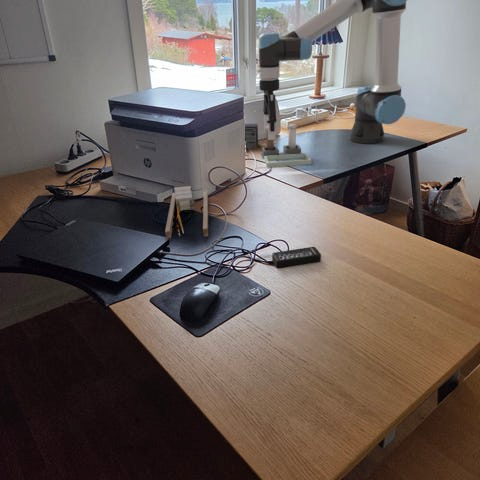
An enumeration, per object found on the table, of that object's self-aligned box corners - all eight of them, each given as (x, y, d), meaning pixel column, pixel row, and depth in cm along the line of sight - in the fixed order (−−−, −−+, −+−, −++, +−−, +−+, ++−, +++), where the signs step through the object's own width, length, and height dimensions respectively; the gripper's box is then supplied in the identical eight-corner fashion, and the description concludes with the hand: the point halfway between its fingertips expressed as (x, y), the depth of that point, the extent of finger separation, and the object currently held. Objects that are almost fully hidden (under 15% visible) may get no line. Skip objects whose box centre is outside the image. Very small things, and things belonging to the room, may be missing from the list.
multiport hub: (271, 260, 103) (271, 252, 102) (314, 254, 105) (314, 246, 104) (277, 270, 99) (277, 261, 98) (321, 263, 101) (321, 254, 100)
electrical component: (200, 243, 119) (199, 229, 115) (179, 246, 118) (177, 231, 115) (192, 197, 137) (191, 183, 134) (173, 199, 136) (172, 185, 133)
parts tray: (306, 159, 170) (306, 153, 169) (311, 166, 162) (311, 160, 161) (264, 162, 170) (264, 155, 168) (267, 169, 162) (266, 163, 160)
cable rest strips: (207, 197, 140) (207, 190, 139) (208, 236, 115) (207, 228, 114) (173, 199, 139) (172, 192, 138) (166, 239, 115) (165, 231, 113)
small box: (258, 146, 190) (258, 122, 185) (257, 150, 184) (257, 126, 180) (235, 146, 191) (234, 123, 186) (233, 150, 186) (232, 126, 181)
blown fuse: (273, 154, 175) (273, 125, 169) (274, 156, 172) (274, 127, 166) (265, 154, 175) (265, 125, 169) (266, 157, 172) (266, 127, 166)
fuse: (295, 153, 175) (295, 123, 169) (296, 155, 172) (297, 125, 166) (287, 153, 175) (287, 124, 169) (288, 155, 172) (288, 126, 166)
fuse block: (298, 153, 177) (298, 144, 175) (302, 158, 171) (302, 149, 169) (260, 156, 177) (260, 146, 175) (262, 161, 170) (262, 151, 169)
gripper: (256, 75, 170) (257, 128, 180) (263, 84, 148) (264, 143, 158) (274, 74, 170) (274, 127, 180) (284, 83, 148) (283, 142, 158)
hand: (269, 135), depth 169 cm, fingers open, 13 cm apart
